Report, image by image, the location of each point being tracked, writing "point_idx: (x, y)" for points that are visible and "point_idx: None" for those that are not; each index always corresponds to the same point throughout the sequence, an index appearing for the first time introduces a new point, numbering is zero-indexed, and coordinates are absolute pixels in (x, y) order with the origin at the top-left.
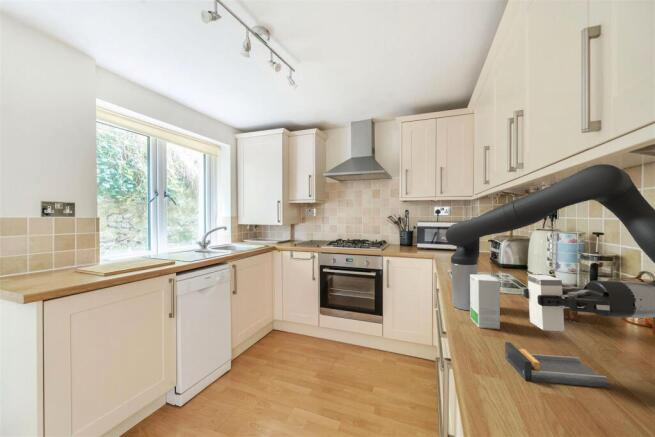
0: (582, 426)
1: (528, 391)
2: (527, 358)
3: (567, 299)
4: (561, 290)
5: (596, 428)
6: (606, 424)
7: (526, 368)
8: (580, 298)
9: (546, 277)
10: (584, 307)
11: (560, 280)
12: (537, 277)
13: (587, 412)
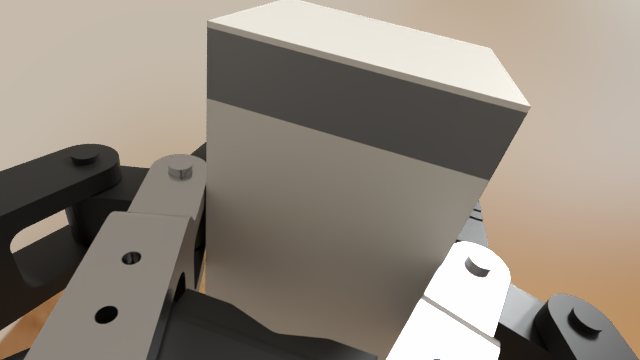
0: (63, 289)
1: (204, 286)
2: None
3: (141, 180)
4: (208, 141)
5: (37, 311)
6: (20, 350)
7: None
8: (30, 199)
9: (362, 37)
10: (23, 283)
11: (214, 27)
12: (371, 22)
13: None
